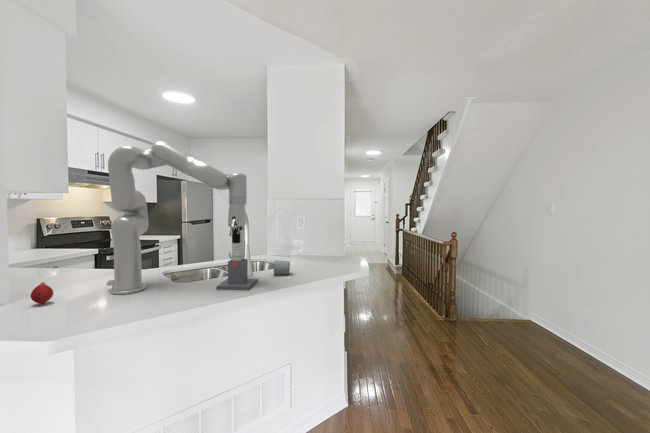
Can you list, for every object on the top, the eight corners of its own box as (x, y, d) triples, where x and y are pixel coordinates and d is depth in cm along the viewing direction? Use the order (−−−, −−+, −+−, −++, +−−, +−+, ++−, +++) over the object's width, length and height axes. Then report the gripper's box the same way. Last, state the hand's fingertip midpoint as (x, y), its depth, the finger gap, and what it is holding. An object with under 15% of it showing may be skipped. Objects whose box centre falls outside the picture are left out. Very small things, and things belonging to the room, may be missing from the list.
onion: (34, 308, 103) (33, 285, 102) (28, 305, 106) (28, 282, 105) (55, 303, 107) (55, 281, 107) (50, 300, 111) (49, 279, 110)
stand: (216, 289, 127) (216, 262, 126) (228, 281, 141) (228, 257, 140) (248, 290, 126) (248, 263, 125) (257, 281, 140) (257, 257, 139)
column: (231, 270, 131) (231, 230, 130) (235, 268, 135) (234, 229, 134) (240, 270, 131) (240, 230, 130) (244, 268, 135) (244, 229, 134)
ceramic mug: (290, 276, 152) (290, 261, 152) (273, 276, 150) (273, 261, 150) (288, 271, 162) (288, 257, 162) (272, 272, 160) (273, 258, 160)
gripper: (236, 201, 140) (236, 240, 141) (222, 201, 124) (222, 244, 124) (251, 201, 140) (251, 240, 141) (239, 201, 123) (239, 245, 124)
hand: (237, 241), depth 132 cm, fingers closed on column, 4 cm apart
